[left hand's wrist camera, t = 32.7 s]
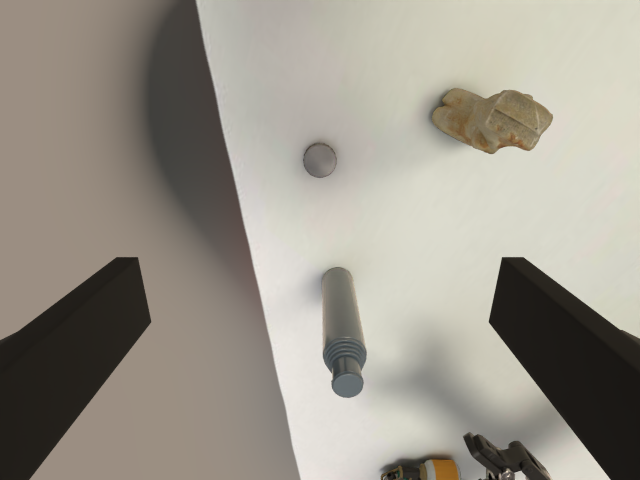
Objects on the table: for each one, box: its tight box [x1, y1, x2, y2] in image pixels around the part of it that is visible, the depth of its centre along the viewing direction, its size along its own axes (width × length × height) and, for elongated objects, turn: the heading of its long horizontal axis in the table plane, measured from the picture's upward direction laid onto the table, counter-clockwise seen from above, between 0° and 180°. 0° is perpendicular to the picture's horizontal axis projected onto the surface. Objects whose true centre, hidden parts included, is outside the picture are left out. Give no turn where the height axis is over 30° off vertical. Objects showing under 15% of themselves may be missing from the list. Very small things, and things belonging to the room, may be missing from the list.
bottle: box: [322, 268, 367, 398], centre depth 41 cm, size 4×4×20 cm
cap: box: [303, 143, 336, 178], centre depth 43 cm, size 4×4×2 cm
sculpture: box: [432, 88, 553, 154], centre depth 35 cm, size 6×7×15 cm
